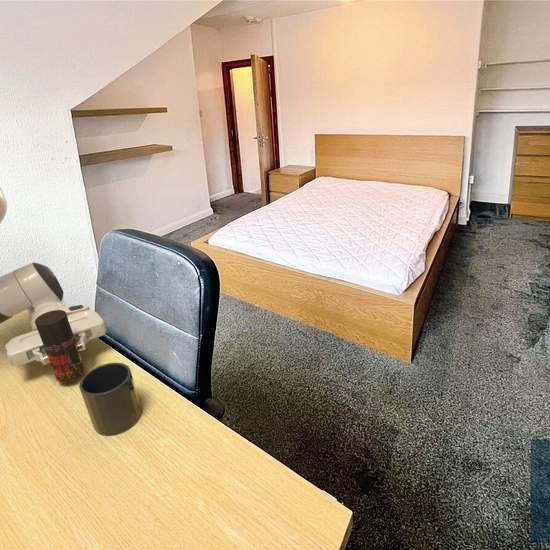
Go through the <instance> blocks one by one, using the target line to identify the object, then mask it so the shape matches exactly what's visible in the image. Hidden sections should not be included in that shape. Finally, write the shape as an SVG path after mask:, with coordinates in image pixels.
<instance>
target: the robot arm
mask: <svg viewBox="0 0 550 550" xmlns="http://www.w3.org/2000/svg"><path fill="white" fill-rule="evenodd" d="M7 210H8V201H7V198H6V196H5V195H4V191H3V190H2V188H1V187H0V224H1V223H2V222H3V221H4V219H5V216H6V214H7ZM64 294H65V293H64V289H63V288H62V286H61V284H60V282H59V280H58V278H57V277H56V275H55V274H54V272H53V271H52V270H51V268H50V267H48V266H46V265H45V264H41V263H39V262H31V263H28V264H26V265H24V266H21V267H19V268H16V269H14V270H12V271H11V272H8V273H6V274H3V275H1V276H0V324H3V323H5V322H6V321H8V320H10V319H11V318H13V317H14V316H16V315H19V314H20V313H23V312H24V311H27V315H28V319H29V322H30V326H31V329H32V331H28V332H26V333H23V334H20V335H17V336H14V337H13V338H11V339H10V340H9V341H8V342H7V343H6V344H4V349H5V351H6V356H7V359H8V361H9V363H10V365H11V366H12V367H16V368H17V367H21V366H23V365H26V364H28V363H32V362H34V361H35V362H36V361H37V362H41V364H42V366H45V365H47V364H51V363H50V360H49V357H48V356H47V353H46V350H45V348H44V345H43V343H42V340H41V337H40V335H39V332H38V330H37V327H36V324H35V320H36V318H37V317H39V316H40V315H42V314H44V313H46V312H49V311H54V310H63V311H65V312H66V315H67V317H68V320H69V323H70V326H71V329H72V332H73V335H74V338H75V341H76V344H77V347H78V350H79V353H81V352H83V351H85V350H87V348H86V346H87V344H88V343H89V341H92V340H95V339H97V338H100V337H104V336H105V335H106V333H107V327H106V324H105V321H104V319H103V318H102V316H101V315H100V314H99V313H98V312H97V311H95V310H93V309H91V308H90V306H89V305H88V304H86V303H84V304H83V303H82V304H78V305H69V306H68V305H66V302H65V301H64V300H63V298H64Z"/></svg>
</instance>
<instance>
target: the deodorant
mask: <svg viewBox="0 0 550 550" xmlns="http://www.w3.org/2000/svg"><path fill="white" fill-rule="evenodd" d="M35 324H36V327H37V330H38V332H39V335H40V337H41V340H42V343H43V345H44V348H45V350H46V353H47V356H48V357H49V360H50V363H49V364H50V366H51V368H52V371H53V373H54V376H55V379H56V381H57V382H58V383H60V384H69V383H73V382H75V381H77V380H79V379H81V378H83V377H84V375H85V374H86V373H85V372H86V367H85V365H84V362H83V359H82V357H81V352H79V350H78V347H77V344H76V341H75V338H74V335H73V332H72V329H71V326H70V323H69V320H68V317H67V315H66V312H65V311H63V310H54V311H49V312H46V313H44V314H42V315H40V316H39V317H37V318H36V320H35Z"/></svg>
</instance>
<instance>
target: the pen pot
mask: <svg viewBox="0 0 550 550" xmlns="http://www.w3.org/2000/svg"><path fill="white" fill-rule="evenodd" d="M78 388H79V390H80V393H81V396H82V399H83V402H84V405H85V407H86V410H87V413H88V416H89V420H90V421H91V425H92V426H93V429H94V431H95V432H96V433H97V434H99V435H101V436H106V437H111V436H116V435H120V434H124V433H125V432H126V431H129V430H130V429H132V428H133V427H134V426H135V425H136V424H137V423H138V422H139V420H140V419H141V416H142V406H141V404H140V403H141V402H140V398H139V395H138V392H137V389H136V384H135V381H134V378H133V374H132V370H131V368H130V367H129V365H127V364H125V363H123V362H108V363H104V364H101V365H98V366H96V367H94V368H92V369H91V370H89V371H88V372H86V373H84V375H83V376H82V377H81V378H80V381H79V385H78Z"/></svg>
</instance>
